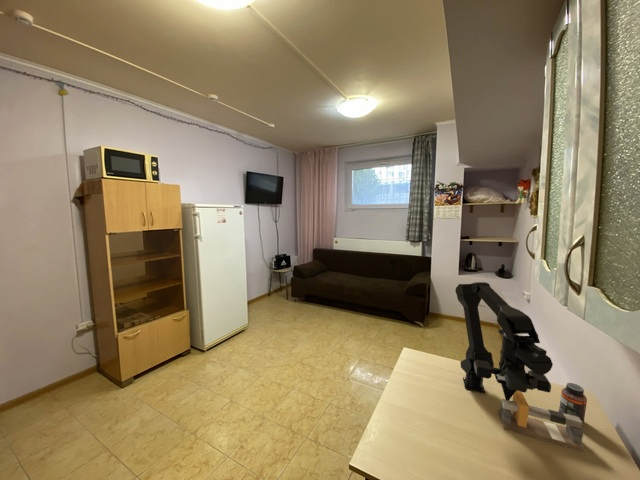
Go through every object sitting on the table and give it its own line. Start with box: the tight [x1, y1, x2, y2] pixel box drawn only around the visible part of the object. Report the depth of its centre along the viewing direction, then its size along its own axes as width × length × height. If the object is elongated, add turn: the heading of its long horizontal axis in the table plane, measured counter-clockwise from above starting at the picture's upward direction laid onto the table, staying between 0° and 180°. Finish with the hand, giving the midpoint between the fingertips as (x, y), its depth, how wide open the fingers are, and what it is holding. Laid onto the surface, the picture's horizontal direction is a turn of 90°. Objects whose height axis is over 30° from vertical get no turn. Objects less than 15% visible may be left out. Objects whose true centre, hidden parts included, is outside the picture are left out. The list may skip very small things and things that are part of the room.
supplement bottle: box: [558, 382, 588, 425], centre depth 84 cm, size 6×6×11 cm
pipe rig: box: [497, 398, 585, 452], centre depth 80 cm, size 7×19×7 cm, turn 68°
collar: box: [511, 391, 530, 427], centre depth 81 cm, size 7×2×7 cm, turn 158°
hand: (506, 399), depth 82 cm, fingers closed
